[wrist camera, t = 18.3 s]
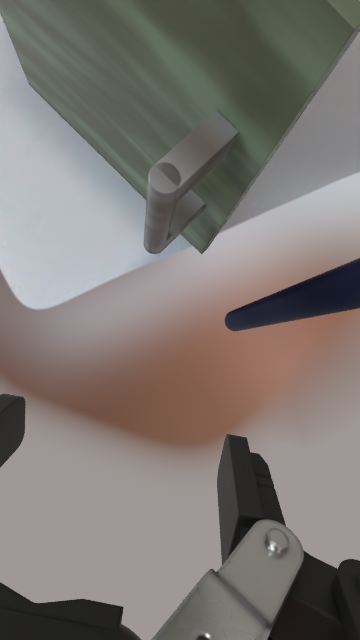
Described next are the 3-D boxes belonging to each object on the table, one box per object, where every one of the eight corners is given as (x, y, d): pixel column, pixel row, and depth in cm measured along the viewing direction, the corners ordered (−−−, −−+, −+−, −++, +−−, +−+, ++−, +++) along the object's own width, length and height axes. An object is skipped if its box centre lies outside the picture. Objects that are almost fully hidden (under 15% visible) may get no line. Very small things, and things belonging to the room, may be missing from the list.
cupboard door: (164, 291, 32) (239, 137, 9) (-15, 117, 31) (-454, -563, 8) (207, 248, 33) (372, 13, 10) (36, 79, 33) (-219, -610, 9)
